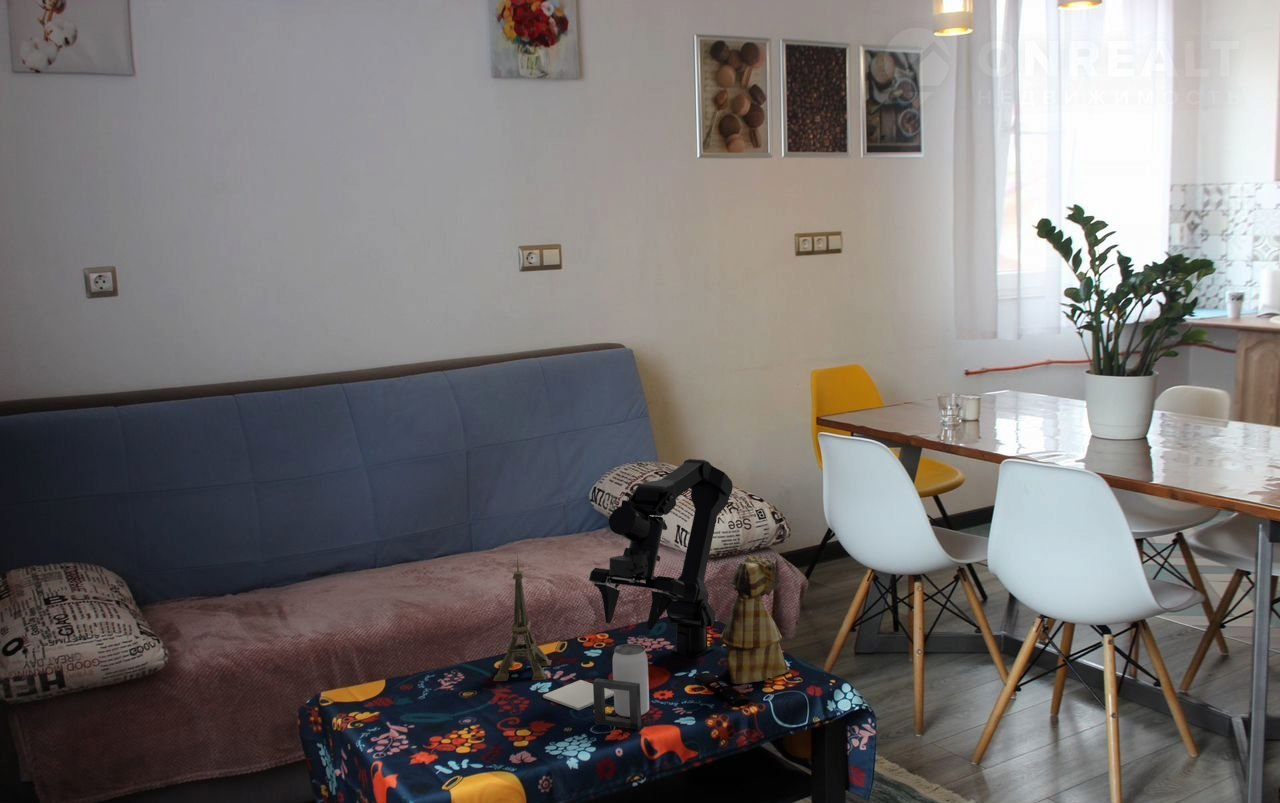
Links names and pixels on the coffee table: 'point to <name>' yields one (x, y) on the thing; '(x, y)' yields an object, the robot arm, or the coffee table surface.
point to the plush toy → (753, 625)
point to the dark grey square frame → (633, 701)
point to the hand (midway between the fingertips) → (628, 626)
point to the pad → (576, 695)
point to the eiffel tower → (528, 646)
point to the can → (630, 676)
